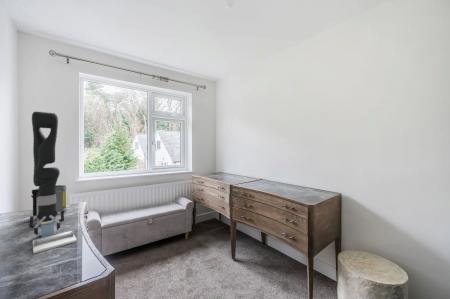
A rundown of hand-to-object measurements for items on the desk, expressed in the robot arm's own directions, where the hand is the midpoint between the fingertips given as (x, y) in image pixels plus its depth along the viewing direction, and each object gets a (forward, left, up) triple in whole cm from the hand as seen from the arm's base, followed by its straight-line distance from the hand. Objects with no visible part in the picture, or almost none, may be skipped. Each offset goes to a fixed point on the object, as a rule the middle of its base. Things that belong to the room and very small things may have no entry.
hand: (47, 231), depth 108 cm
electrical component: (-44, +4, -2) cm, 45 cm away
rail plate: (+14, +2, -2) cm, 14 cm away
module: (0, 0, -2) cm, 2 cm away
